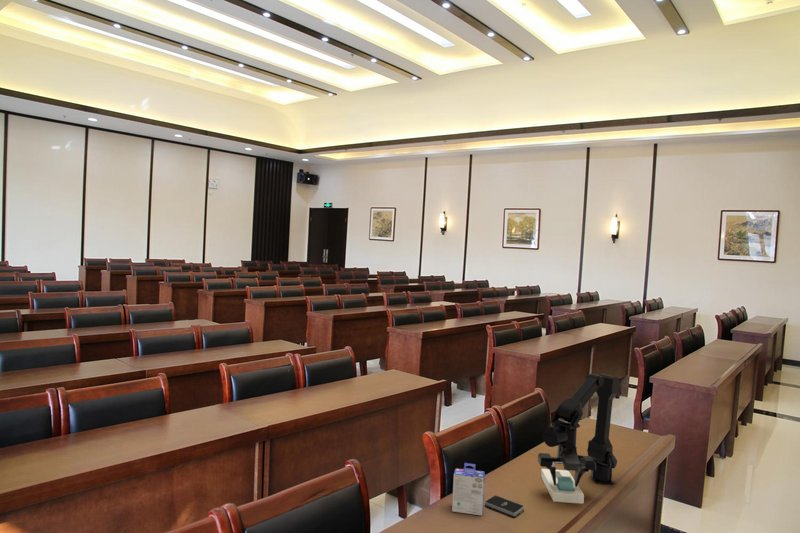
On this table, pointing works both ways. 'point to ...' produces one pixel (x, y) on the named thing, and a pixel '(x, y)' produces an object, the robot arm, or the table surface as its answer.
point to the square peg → (565, 483)
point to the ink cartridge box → (468, 490)
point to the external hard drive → (504, 506)
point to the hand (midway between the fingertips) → (565, 485)
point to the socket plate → (560, 495)
